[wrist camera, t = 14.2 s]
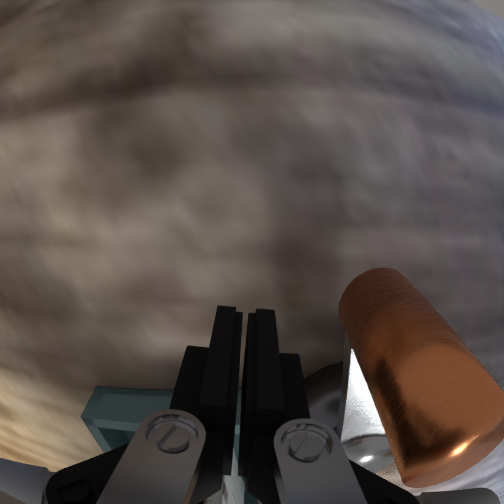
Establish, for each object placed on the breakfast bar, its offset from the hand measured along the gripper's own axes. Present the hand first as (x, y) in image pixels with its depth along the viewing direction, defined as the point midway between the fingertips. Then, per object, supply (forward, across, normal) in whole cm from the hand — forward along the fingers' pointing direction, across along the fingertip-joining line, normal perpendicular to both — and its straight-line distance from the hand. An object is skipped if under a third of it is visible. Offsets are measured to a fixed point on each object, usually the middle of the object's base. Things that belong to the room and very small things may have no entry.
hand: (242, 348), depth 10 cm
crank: (+2, -6, +4) cm, 7 cm away
